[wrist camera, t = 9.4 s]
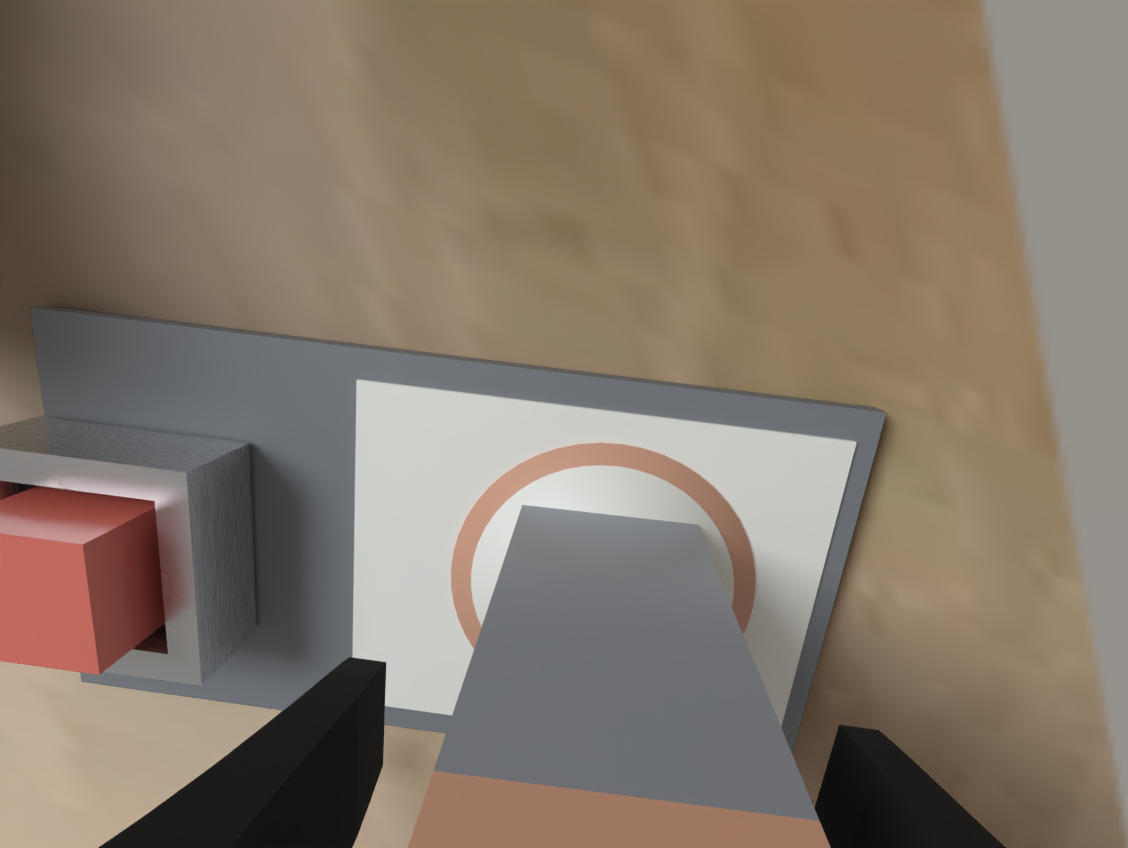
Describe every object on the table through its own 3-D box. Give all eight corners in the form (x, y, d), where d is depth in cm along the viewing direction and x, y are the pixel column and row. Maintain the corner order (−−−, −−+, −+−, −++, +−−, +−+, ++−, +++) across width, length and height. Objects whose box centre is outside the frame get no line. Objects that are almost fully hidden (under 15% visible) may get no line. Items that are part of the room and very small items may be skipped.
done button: (176, 613, 12) (99, 675, 11) (58, 597, 13) (-40, 655, 11) (167, 500, 12) (82, 544, 10) (41, 484, 12) (-67, 524, 10)
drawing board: (778, 764, 15) (787, 789, 14) (97, 669, 15) (73, 687, 15) (874, 407, 12) (892, 414, 11) (51, 306, 13) (18, 308, 12)
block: (672, 673, 13) (773, 1211, 6) (510, 653, 14) (394, 1152, 6) (698, 524, 12) (865, 934, 5) (522, 504, 12) (400, 871, 5)
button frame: (256, 629, 14) (201, 685, 12) (66, 603, 14) (-18, 654, 12) (248, 443, 13) (186, 472, 11) (40, 416, 13) (-59, 440, 11)
